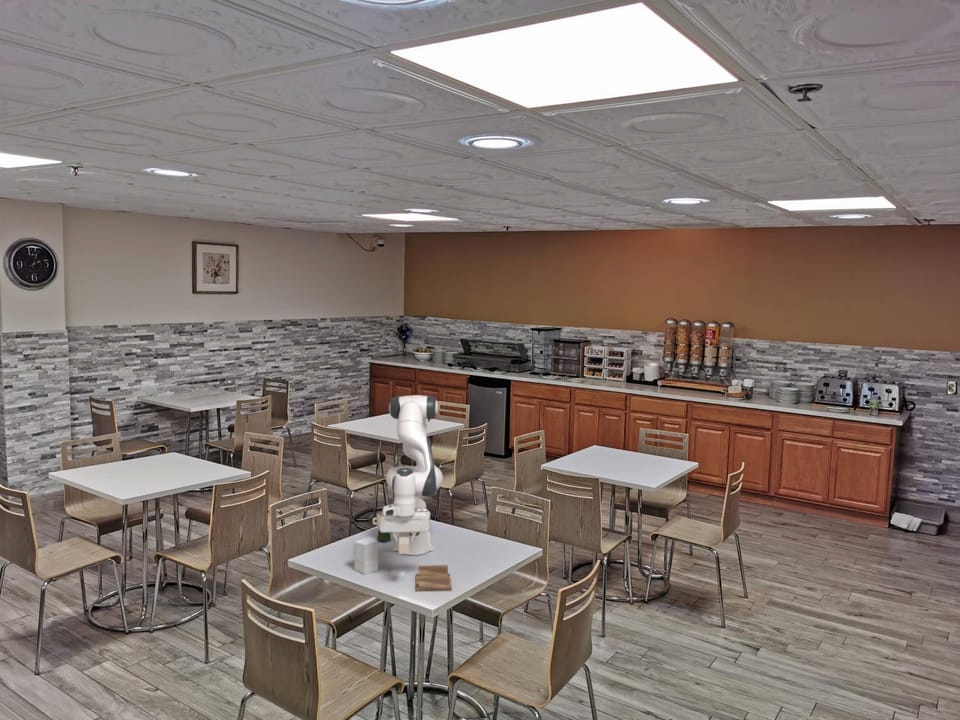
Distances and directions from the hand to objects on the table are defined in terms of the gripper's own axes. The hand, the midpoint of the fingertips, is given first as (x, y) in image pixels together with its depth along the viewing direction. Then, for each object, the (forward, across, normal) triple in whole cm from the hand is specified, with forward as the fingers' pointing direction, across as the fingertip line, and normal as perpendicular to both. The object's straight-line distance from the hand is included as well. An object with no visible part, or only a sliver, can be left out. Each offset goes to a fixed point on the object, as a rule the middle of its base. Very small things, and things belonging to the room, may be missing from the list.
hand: (404, 542), depth 288 cm
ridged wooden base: (+16, -12, +4) cm, 20 cm away
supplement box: (+17, +16, -12) cm, 26 cm away
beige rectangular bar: (+2, 0, 0) cm, 2 cm away
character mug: (+17, +10, -50) cm, 54 cm away
